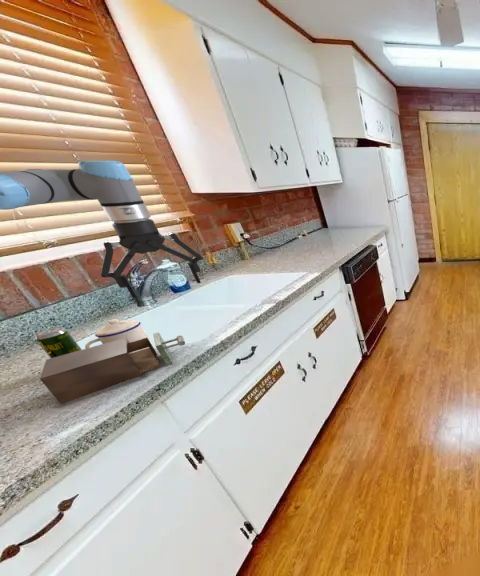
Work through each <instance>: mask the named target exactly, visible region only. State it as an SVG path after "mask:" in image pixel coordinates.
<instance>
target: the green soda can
mask: <svg viewBox="0 0 480 576" xmlns="http://www.w3.org/2000/svg"><path fill="white" fill-rule="evenodd" d="M33 336H34V339H35V341H36V342H37V344H38V345H39V346H40V347H41V348H42V350H43V352H45V353H46V354H47V355H48V357H49V359H50V358H54V357H58V356H61V355H65V354H69V353H72V352H76V351H79V350H83V349H82V348H81V346H80V345H79V344H78V342H77V341H76V340H75V338H74V337H73V336H72V335H71V334H70V332H69V331H68V330H67V329H66V328H65V327H64V326H58V327H52V328H48V329H45V330H41V331H39V332H37V333H35V334H34V335H33Z"/></svg>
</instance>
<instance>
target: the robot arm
mask: <svg viewBox="0 0 480 576" xmlns="http://www.w3.org/2000/svg"><path fill="white" fill-rule="evenodd" d="M77 165H78V168H77V169H75V168H74V169H64V168H63V169H61V168H60V169H55V168H54V169H52V168H51V169H48V168H47V169H43V168H33V169H31V168H30V169H29V168H27V169H18V170H0V211H1V210H3V211H4V210H7V211H9V210H14V209H18V208H25V207H29V206H37V205H46V204H51V203H60V202H69V201H87V200H91V201H92V200H97V202H98V203H99V204H100V206H101V208H102V209H103V211H104V213H105V215H106V217H107V219H108V220H109V221H110V222H112V224H111V226H112V227H113V229H114V231H115V233H116V235H117V236H118V239H119V240H115V241H110V240H105V241H103V246H104V249H105V252H104V257H103V261H102V264H101V265H102V266H101V270H100V277H102V278H113V279H114V280H115V282H116V284H117V286H118V287H119V288H121V289H124V288H126V289H127V291H128V292H129V294H130V296H131V297H132V298H133V299H136V298H137V297H138V296H137V294H136V291H135V290H134V288H133V287H132V284H131V282H130V281H129V279H128V278H127V276H126V274H123V272H124V271H125V269H126V268H127V267H128V265H129V263H131V262H130V261H131V260H132V259H133V258H134V257H135V255H136V254H141V255H143V254H147V253H156V252H158V251H160V250H161V251H163V252H166V253H168V254H171V255H173V256H175V257H178V258H180V259H183V260H185V261H186V262H187V265H188V268H189V269H190V271H191V273H192V276H193V277H194V278H193V279H194V280H195V282H196V283H197V284H201V283H202V282H201V279H200V278H199V275H198V273H201V269H200V266H199V264H198V262H199V261H202V260H204V257H203V256H202V255H201V254H200V253H198V252H197V250H195V249H193V248H191V246H189V245H188V244H186V242H184V241H182V240H181V239H180V238H179V236H178V235H177V233H175V232H169V233H168V234H167V233H166V234H162V233H160V230H159V229H158V227H157V225H156V223H155V221H154V220H153V219H151V217H152V216H151V214H150V211H149V209H148V207H147V205H146V203H145V202H144V200H143V197H142V196H141V194H140V192H139V190H138V188H137V185H136V183H135V181H134V177H132V176H131V174H130V172H129V170H128V169H127V167H126V165H125V164H124V163H123V162H121V161H118V160H80V161H78V163H77ZM165 240H168V241H170V242H175V243H176V244H177V245H178V246H180V247H181V248H182V249H184V250H185V251H186V252H188V253H189V254H190V255H192V256H193V257H192V256H189V255H187V254H186V253H183V252H180V251H178V250H177V249H174V248H172V247H170V246H168V245H165V244H164V241H165ZM119 246H121V247H123V248H125V249H127V250H126V252H125V254H124V255H123V256H122V258H121V259H120V261H119V262H118V265H117V266H116V267H115V268H114V270H113V271H111V264H112V260H113V256H114V250H117V249H118V247H119Z"/></svg>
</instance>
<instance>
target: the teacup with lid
mask: <svg viewBox="0 0 480 576" xmlns="http://www.w3.org/2000/svg"><path fill="white" fill-rule="evenodd" d="M107 323H108V324H106V325H104V326H103V327H101V328H100V329H98V330H96V331H95V332H94V335H95V337H96V338H95V339H92V340H90V341H88V342H87V343H86V344H85V346H84V347H85V348H84V349H87V348H90V346H91V345H92V344H94V343H97V342H100V343H101V344H105V343H108V342H112V341H116V340H119V339H123V338H127V340H128V341H129V342H131V341H135V340H138V339H142V338H145V337H147V338H148V339H149V341H150V343H151V344H152V345H153V342H152V341H151V339H150V337H149V335H148V334H147V333H146V331H145V329H144V328H143V326H142V323H141V321H139V320H136V319H131V320H119V319H118V318H113V319H109V320H108V322H107Z"/></svg>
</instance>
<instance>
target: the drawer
mask: <svg viewBox="0 0 480 576" xmlns="http://www.w3.org/2000/svg"><path fill="white" fill-rule="evenodd" d="M152 336H153V340H154V345H155V348H156V350H157V351H158V353H159V354H158V353H157V351H156V350H155V348H154V345H153V343H152V344H151V343H150V341H151V340H150V341H149V339H150V338H149V339H148V338H147V337H145V338H142V339H138V340H135V341H131V342H128V354H129V355H130V357H131V359H132V360H133V362H134V363H135V365H136V366H137V368H138V369H139V371H140V372H141V374H142V373H146V372H148V371H152V370H155V369H158V368H160V367H161V363H160V359H159V355H160V357H161V358H162V360H163V361H164V363H165V365H166V366H167V367H169V366H171V365H173V364H174V363H173V359H172V355H171V351H170V348H174V347H177V346H184V345H186V341H185V338H184V336H183V335H177V336H176V337H175V338H172V339H169V340H166V341H165V340H164V338H163V337H162V335H161V334H160V332H155V333H153V334H152ZM173 342H175V343H173ZM169 343H172V344H170V345H167V344H169Z"/></svg>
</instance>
